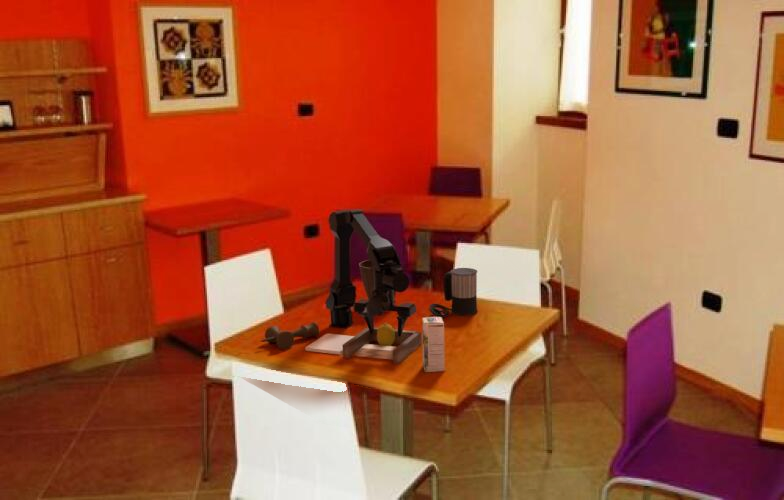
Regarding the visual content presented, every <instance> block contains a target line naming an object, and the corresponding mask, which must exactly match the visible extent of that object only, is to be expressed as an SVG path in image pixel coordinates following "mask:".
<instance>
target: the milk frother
mask: <svg viewBox="0 0 784 500" xmlns="http://www.w3.org/2000/svg"><path fill="white" fill-rule="evenodd" d="M477 273H478V270H477V269H475V268H471V267H456V268H453V269H451V270H450V271H448V272H446V273H445V274H444V276H443V279H442V280H443V291H444V293H443V295H444V300H445V301H446V302H450V301H451V308H449V307H447V306H444V305H443V304H438V303H432V304H430V305H429V308H428V309H429V312H430V313H431V314H432V315H433V316H434V317H441V318H447V317H448V316H449V315H450V311H451V313H452V314H454V315H456V316H471V315H472V316H473V315H475V314H477V313H478V305H477V302H478V301H477V292H478V291H477V283H478V281H477V280H478V278H477V276H478V275H477ZM443 311H444V313H443Z"/></svg>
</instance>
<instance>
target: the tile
mask: <svg viewBox="0 0 784 500" xmlns="http://www.w3.org/2000/svg"><path fill="white" fill-rule="evenodd" d="M354 336H355V335H345V334H338V333H337V334H336V333H326V334H324V335H322V336H320V337H319V338H318V339H316V340H315V341H312V343H310V344H308V345H307V346H305V347H304V349H305V351H307V352H314V353H322V354H323V353H325V354H331V355H343V346H342V345H343V344H344V343H346V342H347V341H349V340H350V339H352V338H353V337H354Z"/></svg>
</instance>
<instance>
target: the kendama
mask: <svg viewBox="0 0 784 500" xmlns="http://www.w3.org/2000/svg"><path fill="white" fill-rule="evenodd" d="M319 335H320V328H319V324H318V323H317V322H315V321H312V322H310V324H308V325H303V324H301V326H300V327H299V328H297V329H295V330H292V331H290V330H283V331H281V329H280V328H279V327H278V326H276V325H272V326H271V325H270V326H269V327H268V328H267V329H266V330H265V332H264V338H263V339H260V342H261V343H263V342H264V343H265V342H267V343H268V344H276V345H277V347H278V348H279V350H283V351H284V350H288V349H290V348H292V347H293V344H294V343H295V338H302V339H307V338H308V337H313V338H318V337H319Z"/></svg>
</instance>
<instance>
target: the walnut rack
mask: <svg viewBox="0 0 784 500" xmlns="http://www.w3.org/2000/svg"><path fill="white" fill-rule="evenodd" d="M378 328H379V327H375V326H374V331H373V333H372V334H371V333H370V330H369V328H368V326H367V327H366V328H364V329H363V330H362V331H360V332H358V333H357V334H356V335H353V336H354V337H353V338H352V339H350V340H349V341H347V342H346V343H344V344H343V345H342V346H343V353H342V357H343V359H344V358H345V359H349V358H350V357H351V356H353V355H354V354H356V352H357V351H358V350H360V349H361V347H363V346H364V345H365V344H370V342H378V340H377V331H378ZM393 329H394V332H395V340H394V342H393V344H398V346H396V347H397V348H395V349H394V350H393V359H392V361H393V364H395V365H400V364H401V363H402V362H403V361H404V360H405V359H406V358H407V357H409V356H410V355H411V354H413V352H415V350H416V349H418V348H419V347H420V346H421V345H423V342H422V331H414V330H405V329H403V331H402V333H401V336H398V328H397V329H395V328H393Z"/></svg>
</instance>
